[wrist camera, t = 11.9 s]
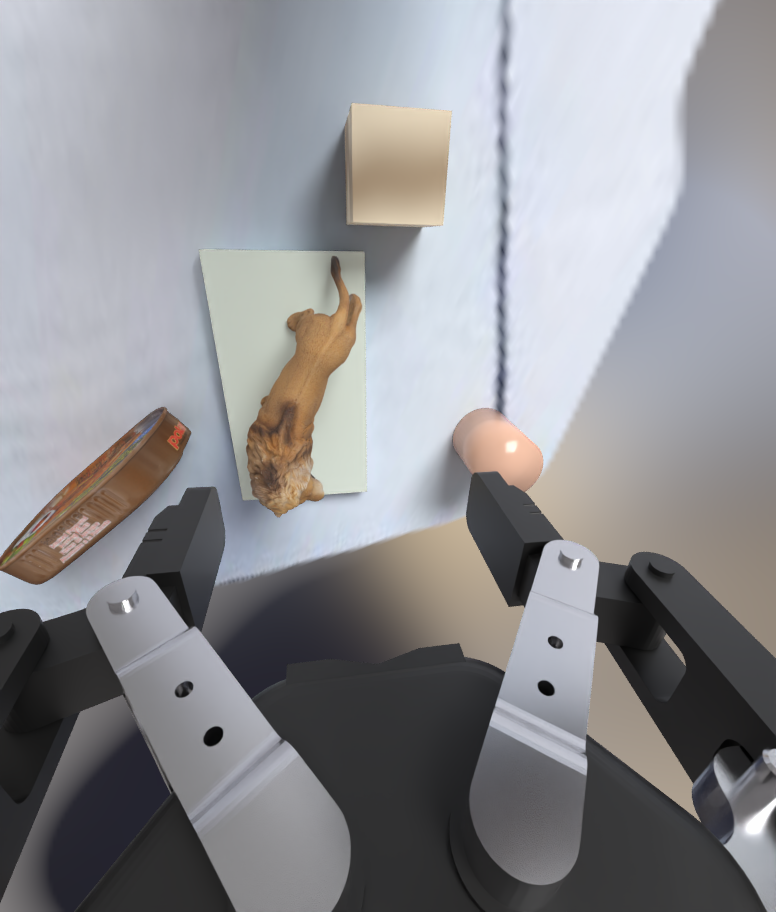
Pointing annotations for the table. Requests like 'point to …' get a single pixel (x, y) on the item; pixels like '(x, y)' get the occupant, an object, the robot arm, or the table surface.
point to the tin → (98, 499)
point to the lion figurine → (299, 404)
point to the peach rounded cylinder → (497, 448)
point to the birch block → (396, 165)
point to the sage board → (287, 350)
